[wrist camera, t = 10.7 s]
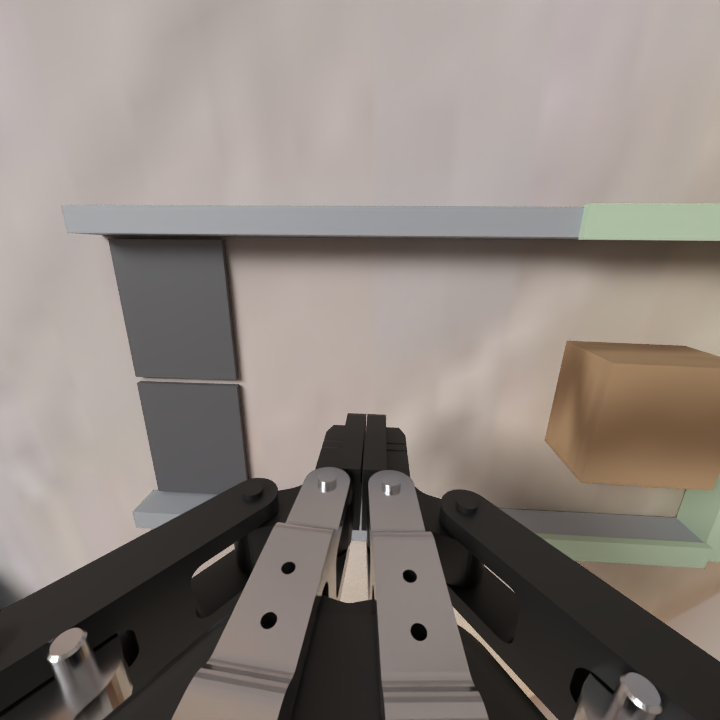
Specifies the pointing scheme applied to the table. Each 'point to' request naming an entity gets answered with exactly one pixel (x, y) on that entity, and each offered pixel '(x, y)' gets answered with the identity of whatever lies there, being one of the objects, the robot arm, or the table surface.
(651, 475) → the walnut block
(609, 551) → the frame
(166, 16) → the table surface
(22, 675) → the robot arm
